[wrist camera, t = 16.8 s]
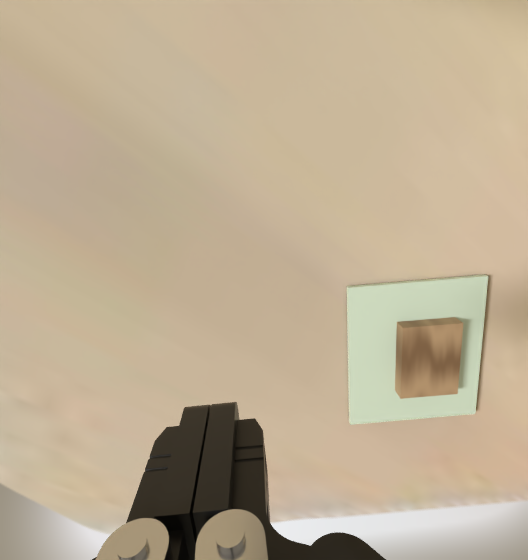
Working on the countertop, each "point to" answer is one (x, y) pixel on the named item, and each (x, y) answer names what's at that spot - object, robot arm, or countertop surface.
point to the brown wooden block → (428, 357)
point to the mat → (382, 345)
